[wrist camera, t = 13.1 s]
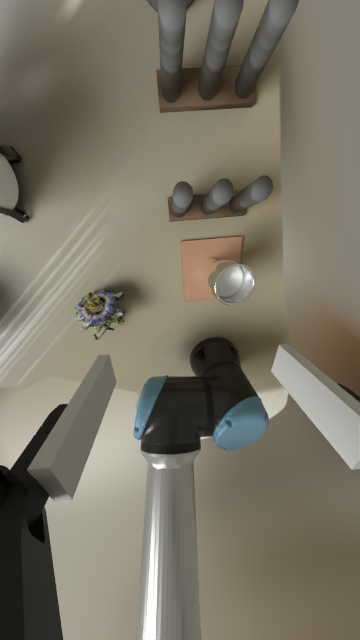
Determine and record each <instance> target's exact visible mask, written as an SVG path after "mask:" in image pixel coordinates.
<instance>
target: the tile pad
mask: <svg viewBox="0 0 360 640" xmlns="http://www.w3.org/2000/svg"><path fill="white" fill-rule="evenodd" d="M241 248H242V236H240V237H228V238H216V239H204V240H192V241H181V256H182V271H183V286H184V300H185V301H192V300H203V299H213V298H216V297H214V296H213V295H212V294H211V292H210V291H209V290H208V288H207V285H206V283H204V282H203V281H202V280H201V278H200V275H199V270H200V267H201V265H202V263H203V262H204V261H206V260H207V259H211V258H215V259H218V260H233V261H236V262H239V263H240V260H241Z"/></svg>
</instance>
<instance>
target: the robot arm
mask: <svg viewBox="0 0 360 640" xmlns="http://www.w3.org/2000/svg"><path fill="white" fill-rule="evenodd" d="M190 364H191V368H192V370H193V372H194V374H195V375H196V376H197V377H168V375H166V376H162V377H151V378H149V379H148V380H147V381H146V382H145V384H144V387H143V390H142V393H141V396H140V400H139V404H138V409H137V413H136V419H135V428H134V437H135V438H136V439H137V440H140V439H141V453H142V454H143V456H144V457H145V458H146V460H147V462H148V468H147V484H146V499H145V515H144V530H143V545H142V560H141V576H140V592H139V607H138V621H137V638H136V640H201V628H200V604H199V581H198V558H197V535H196V511H195V487H194V464H193V461H194V459H195V457H196V456H197V455H198V453H199V452H200V450H201V444H200V437H207V436H213V439H214V442H215V443H216V445H217V446H218V447H219V448H222V449H224V450H236V449H240V448H243V447H245V446H248V445H249V444H251V443H253V442H254V441H256V440H257V439H259V438H260V437H261V436H262V435H263V433H264V432H265V431H266V429H267V426H268V423H269V418H268V414H267V412H266V410H265V408H264V406H263V404H262V401H261V399H260V398H259V397H258V395H257V393H256V392H255V390H254V389H253V387H252V385H251V384H250V382H249V380H248V379H247V377H246V376H245V374H244V372H243V371H242V369H241V365H240V358H239V353H238V351H237V349H236V348H235V346H234V345H233V344H232V343H231V342H230V341H228V340H226V339H223V338H210V339H207V340H204V341H202V342H201V343H199V344H198V345H197V346H196V347H195V348H194V349H193V351H192V353H191V356H190ZM271 372H272V373H273V374H274V376H275V377H276V378H277V379H278V380H279V382H280V383H281V384H282V385H283V386H284V388H285V389H286V390H287V391H288V393H289V394H290V395H291V396H292V397H293V399H294V400H295V401H296V402H297V403H298V405H299V406H300V407H301V408H302V410H303V411H304V412H305V413H306V414H307V416H308V417H309V418H310V419H311V421H312V422H313V423H314V424H315V425H316V426H317V428H318V429H319V430H320V431H321V433H322V434H323V435H324V436H325V438H326V439H327V440H328V441H329V442H330V444H331V445H332V446H333V447H334V448H335V450H336V451H337V452H338V453H339V455H340V456H341V457H342V458H343V459H344V461H345V462H346V463H347V464H348V465H349V467H350V468H351V469H360V397H359V396H358V395H356V394H355V393H354V392H353V391H351V390H350V389H348V388H346V387H344V386H343V385H341V384H336V383H335V382H334V381H333V380H331V379H330V378H329V377H328V376H327V375H325V374H324V373H323V372H322V371H321V370H319V369H318V368H317V367H316V366H314V365H313V364H312V363H311V362H309V361H308V360H307V359H306V358H305V357H303V356H302V355H301V354H300V353H298V352H297V351H296V350H295V349H294V348H292V347H291V346H290V345H289V344H284V345H279V347H278V350H277V353H276V357H275V360H274V363H273V367H272V370H271ZM115 384H116V378H115V374H114V371H113V367H112V363H111V359H110V355H99V356H98V357H97V359H96V360H95V362H94V364H93V365H92V367H91V368H90V370H89V372H88V373H87V375H86V376H85V378H84V380H83V381H82V383H81V384H80V386H79V388H78V389H77V391H76V392H75V394H74V396H73V397H72V399H71V400H70V402H69V404H61V405H59V406H58V407H57V408H55V409H54V410H53V411H52V412H51V413H50V414H49V415H48V417H47V418H46V420H45V421H44V423H43V424H42V426H41V427H40V428H39V430H38V431H37V433H36V435H34V437H33V438H32V440H31V441H30V443H29V444H28V445H27V447H26V448H25V450H24V451H23V453H22V454H21V456H20V457H19V458H18V460H17V461H16V462H15V464H14V465H13V467H12V468H11V470H9V469H8V468H7V467H5V466H2V465H1V466H0V640H63V635H62V628H61V621H60V614H59V606H58V598H57V591H56V583H55V576H54V568H53V561H52V553H51V546H50V539H49V531H48V524H47V516H46V510H45V508H44V506H45V504H46V501H47V500H48V497H49V496H50V497H51V498H52V499H53V501H61V500H72V499H73V496H74V494H75V491H76V488H77V485H78V483H79V480H80V477H81V475H82V472H83V469H84V467H85V464H86V462H87V459H88V456H89V454H90V451H91V448H92V446H93V443H94V440H95V438H96V435H97V432H98V430H99V427H100V424H101V421H102V419H103V416H104V414H105V411H106V408H107V405H108V403H109V400H110V398H111V395H112V392H113V390H114V387H115Z"/></svg>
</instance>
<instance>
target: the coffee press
mask: <svg viewBox="0 0 360 640" xmlns="http://www.w3.org/2000/svg"><path fill="white" fill-rule="evenodd" d="M21 160H22V158H21V157H20V156H19V154H18V153H17V152H16V150H15V149H14V148H13V147H7V146H0V216H3V215H9V216H11V217H13V218H15V219H17V220H18V221H20V222H22V223H24V222H25V221H26V220H28V219H29V218H28V216H27V215H26V214H25V213H24V212H22V211H21V210H20V209H18V208H17V207H16V204H17V201H18V195H19V191H18V184H17V180H16V177H15V174H14V172H13V170H12V168H11V166H10V164H13V163H19V162H21Z"/></svg>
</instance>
